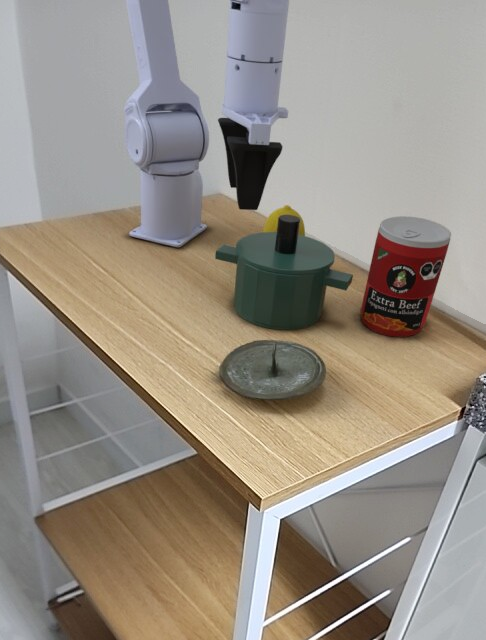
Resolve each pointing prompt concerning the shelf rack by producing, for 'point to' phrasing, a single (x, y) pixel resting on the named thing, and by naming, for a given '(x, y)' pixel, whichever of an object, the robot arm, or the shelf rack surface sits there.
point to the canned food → (403, 275)
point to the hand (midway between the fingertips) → (243, 197)
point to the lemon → (273, 217)
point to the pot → (280, 293)
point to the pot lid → (285, 250)
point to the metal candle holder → (272, 370)
